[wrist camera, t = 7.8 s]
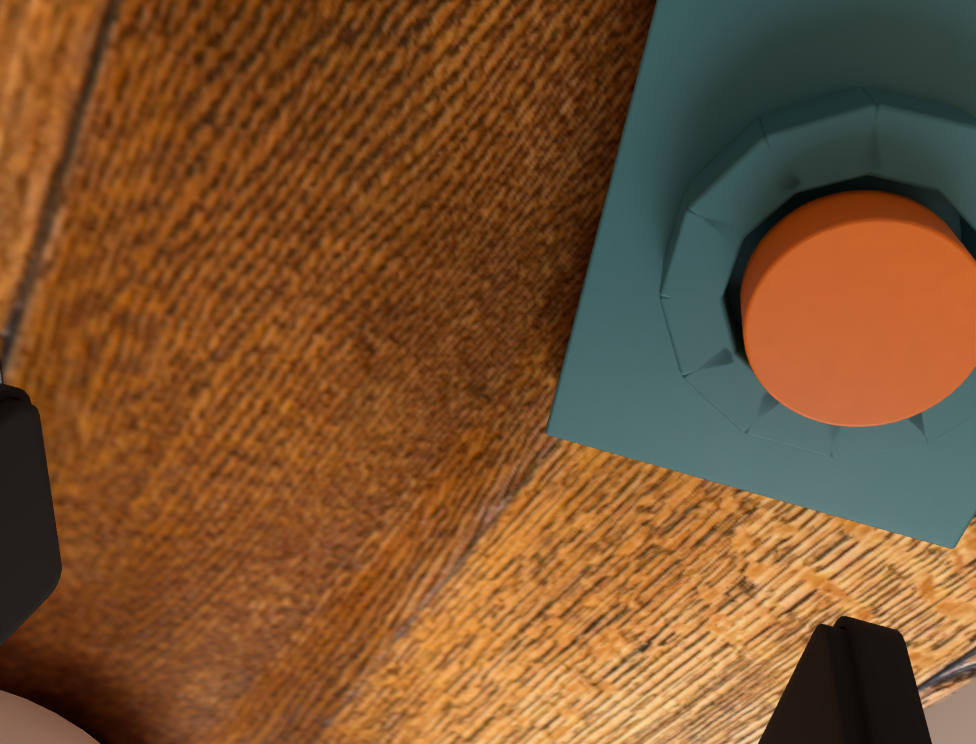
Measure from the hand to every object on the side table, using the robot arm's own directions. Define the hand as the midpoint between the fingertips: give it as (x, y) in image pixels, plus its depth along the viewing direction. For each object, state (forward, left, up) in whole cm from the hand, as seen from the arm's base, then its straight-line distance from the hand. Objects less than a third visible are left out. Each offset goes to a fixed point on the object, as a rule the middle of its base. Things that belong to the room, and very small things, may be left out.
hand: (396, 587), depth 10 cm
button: (-2, +6, -9) cm, 11 cm away
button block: (-2, +6, -13) cm, 14 cm away
